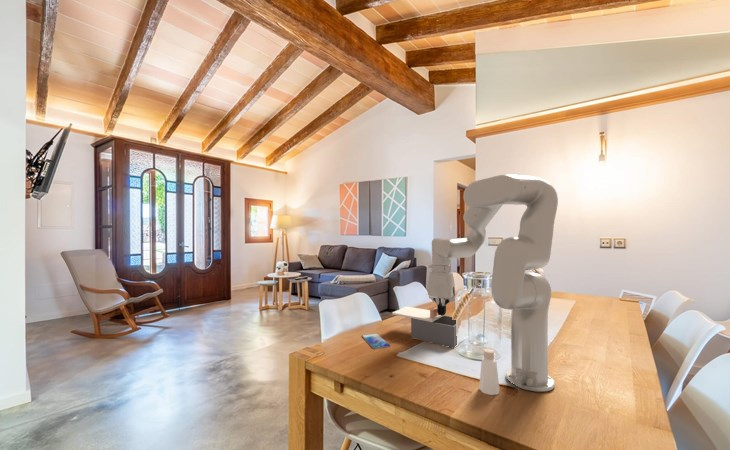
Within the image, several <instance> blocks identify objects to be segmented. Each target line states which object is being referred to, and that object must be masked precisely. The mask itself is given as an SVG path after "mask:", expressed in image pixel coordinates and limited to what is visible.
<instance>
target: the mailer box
mask: <svg viewBox="0 0 730 450" xmlns="http://www.w3.org/2000/svg"><path fill="white" fill-rule="evenodd" d="M452 317H453V316H450V315H446V314H445V315H444V316H442V317H441V318H439V319H437V320H435V321H434V322H428V321H423V320H418V319H413V318H410V327H411V328H410V330H411V331H410V334H411V335H410V336H411V337H410V338H411V339H413V340H417V341H421V342H426V343H430V344H434V345H439V346H442V345H444V346H443V347H446V346H449V347H448V348H451V347H453V348H452V349H455V348H456V347H457V346H456V345H457V336H456V320H452ZM455 346H456V347H455ZM454 347H455V348H454Z"/></svg>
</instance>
